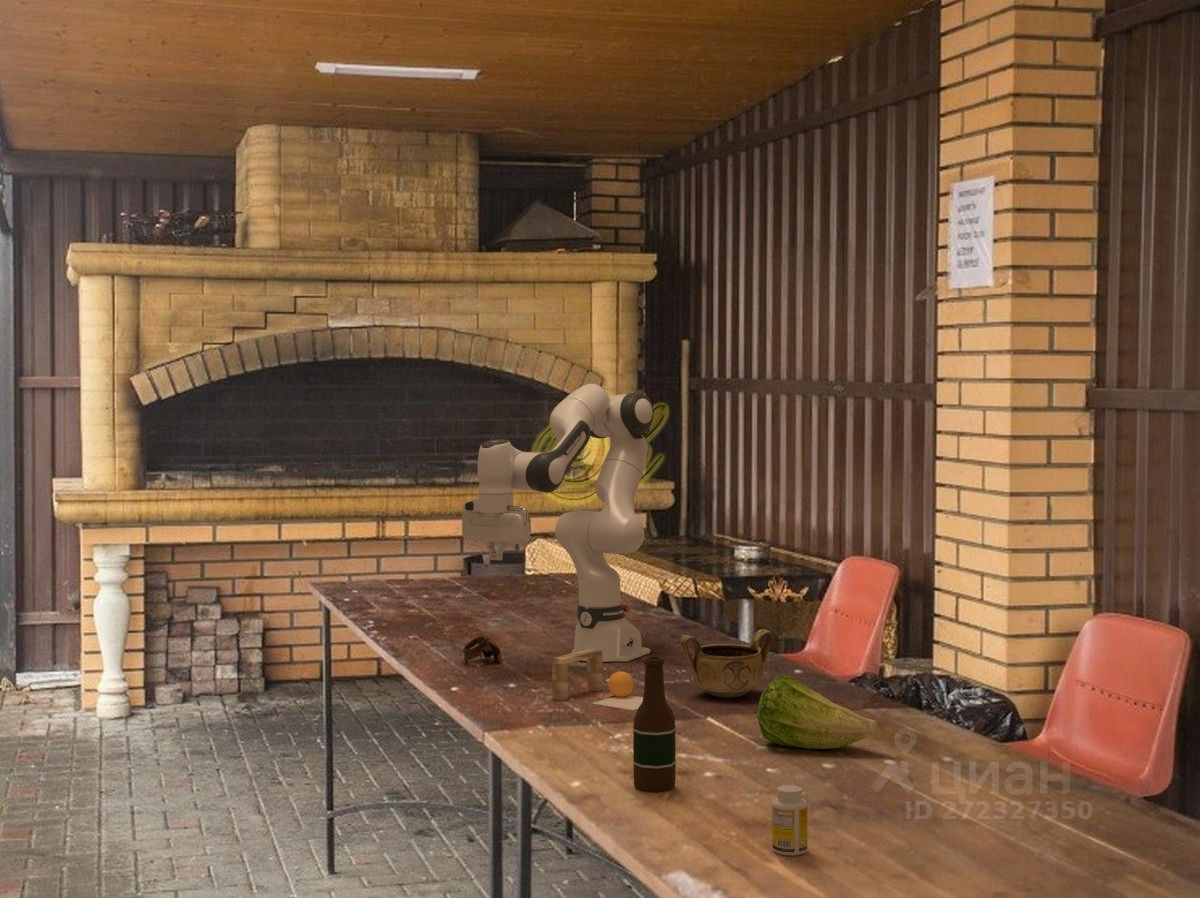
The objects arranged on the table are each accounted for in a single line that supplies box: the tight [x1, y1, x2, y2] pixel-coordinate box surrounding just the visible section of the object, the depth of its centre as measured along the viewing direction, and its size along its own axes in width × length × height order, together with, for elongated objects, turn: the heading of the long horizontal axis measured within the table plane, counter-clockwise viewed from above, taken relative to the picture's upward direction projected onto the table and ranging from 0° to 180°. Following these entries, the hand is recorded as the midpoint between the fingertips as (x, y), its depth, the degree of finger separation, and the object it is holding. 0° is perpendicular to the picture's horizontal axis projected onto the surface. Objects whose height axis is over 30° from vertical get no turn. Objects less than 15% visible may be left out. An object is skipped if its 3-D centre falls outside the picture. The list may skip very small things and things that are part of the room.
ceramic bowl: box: [679, 628, 774, 699], centre depth 370 cm, size 22×17×15 cm
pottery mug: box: [462, 635, 504, 665], centre depth 414 cm, size 12×10×8 cm
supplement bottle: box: [771, 784, 809, 857], centre depth 251 cm, size 6×6×10 cm
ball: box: [607, 671, 635, 697], centre depth 369 cm, size 6×6×6 cm
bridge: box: [551, 649, 604, 702], centre depth 372 cm, size 3×15×10 cm, turn 142°
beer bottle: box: [632, 656, 677, 793], centre depth 290 cm, size 8×8×24 cm
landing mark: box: [591, 694, 643, 712], centre depth 363 cm, size 12×12×1 cm
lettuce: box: [756, 675, 878, 750], centre depth 319 cm, size 14×24×15 cm
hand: (496, 559), depth 395 cm, fingers closed
